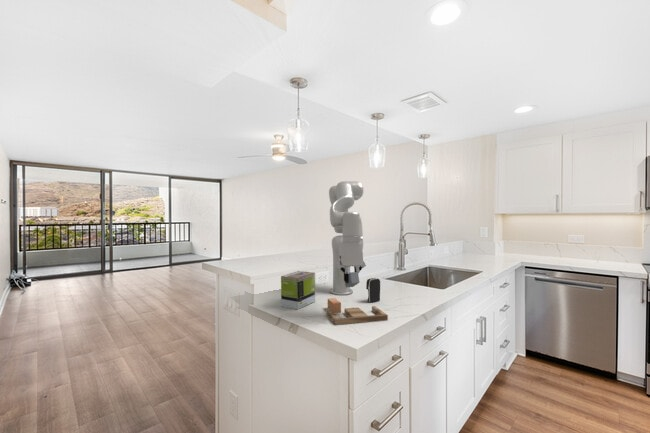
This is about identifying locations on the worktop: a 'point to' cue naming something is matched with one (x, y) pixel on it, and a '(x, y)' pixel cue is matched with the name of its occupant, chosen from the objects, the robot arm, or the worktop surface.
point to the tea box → (297, 289)
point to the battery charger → (373, 289)
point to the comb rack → (357, 316)
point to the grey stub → (352, 279)
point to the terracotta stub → (334, 305)
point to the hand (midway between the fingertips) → (351, 281)
